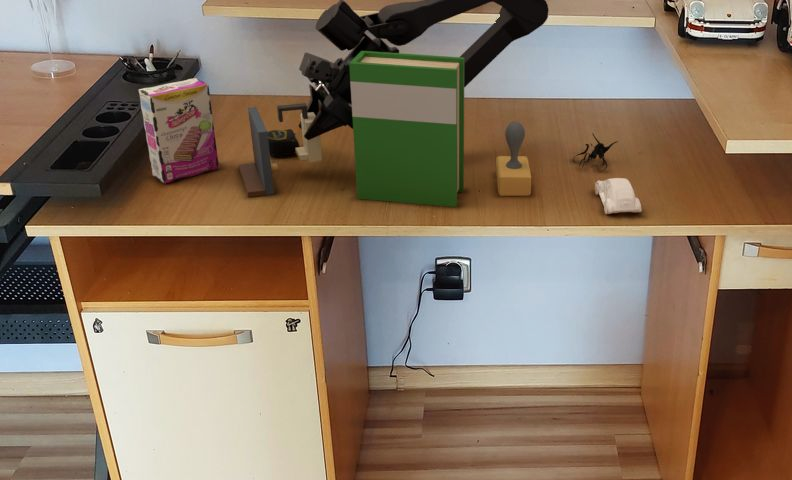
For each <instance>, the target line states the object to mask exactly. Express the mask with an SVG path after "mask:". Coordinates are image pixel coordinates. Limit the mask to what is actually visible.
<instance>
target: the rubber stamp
mask: <svg viewBox="0 0 792 480" xmlns="http://www.w3.org/2000/svg"><path fill="white" fill-rule="evenodd" d="M525 130H526V129H525V127H524V125H523V124H522V123H521V122H518V121H512V122H510V123H509V124H508V125H507V126H506V128H505V132H504V133H505V135H504V136H505V140H506V143H507V146H508V149H509V154H510V155H498V156H497V157H496V158H495V159H496V161H495V162H496V163H495V177H496V185H497V193H498V195H499V196H502V197H503V196H504V197H505V196H508V197H509V196H510V197H511V196H514V197H515V196H518V197H519V196H522V197H523V196H526V197H528V196H530V195H531V193H532V173H531V169H530V164H529V163H530V162H529V158H528V157H527V156H526V155H525V156H524V155H519V153H520V149H521V147H522V145H523V143H524V139H525V135H526V131H525Z"/></svg>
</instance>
